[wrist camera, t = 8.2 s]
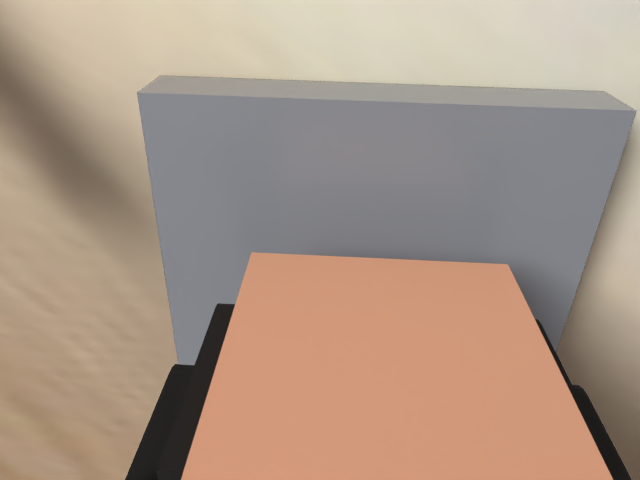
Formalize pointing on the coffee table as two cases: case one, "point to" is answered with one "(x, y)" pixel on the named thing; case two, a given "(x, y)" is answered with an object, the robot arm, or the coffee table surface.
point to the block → (375, 181)
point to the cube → (387, 378)
